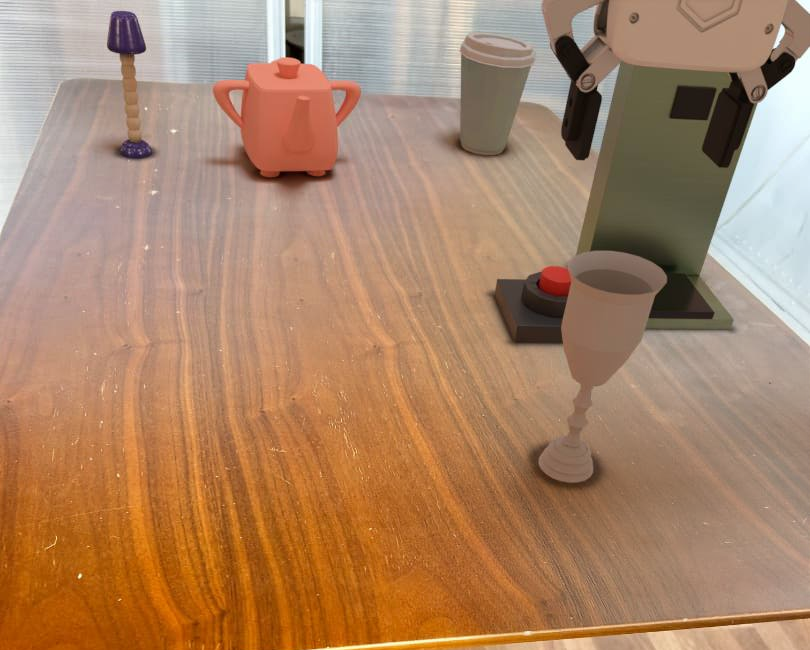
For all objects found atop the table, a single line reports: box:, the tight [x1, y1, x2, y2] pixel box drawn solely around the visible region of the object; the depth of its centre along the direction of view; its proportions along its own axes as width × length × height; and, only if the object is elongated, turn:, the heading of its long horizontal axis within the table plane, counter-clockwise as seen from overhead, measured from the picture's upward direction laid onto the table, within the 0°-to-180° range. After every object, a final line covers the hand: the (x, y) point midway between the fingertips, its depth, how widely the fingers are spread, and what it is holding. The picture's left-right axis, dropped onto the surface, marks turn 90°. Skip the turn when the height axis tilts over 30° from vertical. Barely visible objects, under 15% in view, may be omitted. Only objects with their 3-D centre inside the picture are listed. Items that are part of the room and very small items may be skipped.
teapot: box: [212, 56, 362, 178], centre depth 115 cm, size 17×16×13 cm
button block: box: [494, 271, 568, 344], centre depth 93 cm, size 10×10×4 cm
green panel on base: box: [575, 61, 759, 330], centre depth 92 cm, size 14×14×24 cm
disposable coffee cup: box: [458, 31, 536, 156], centre depth 125 cm, size 11×11×15 cm
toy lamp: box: [106, 10, 154, 160], centre depth 112 cm, size 5×5×17 cm
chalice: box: [538, 251, 667, 484], centre depth 69 cm, size 7×7×18 cm
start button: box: [539, 265, 571, 296], centre depth 91 cm, size 4×4×2 cm
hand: (645, 156), depth 58 cm, fingers open, 9 cm apart
